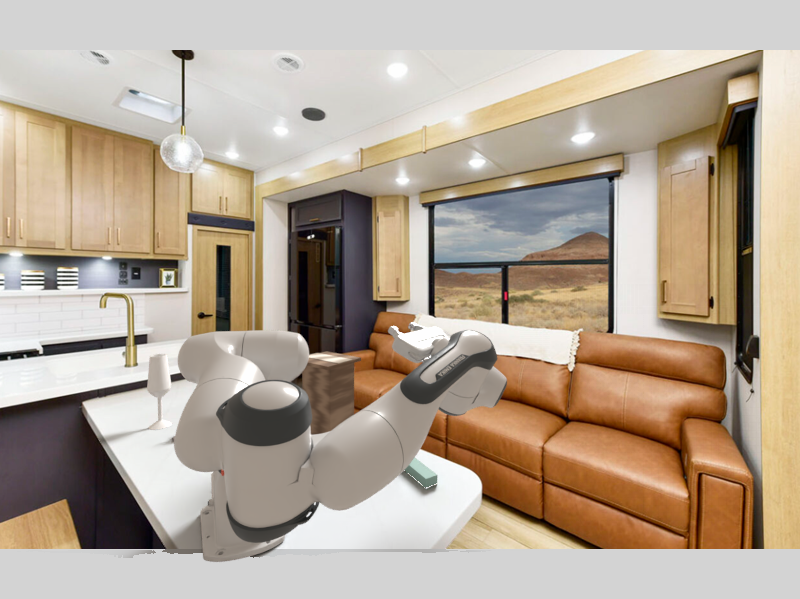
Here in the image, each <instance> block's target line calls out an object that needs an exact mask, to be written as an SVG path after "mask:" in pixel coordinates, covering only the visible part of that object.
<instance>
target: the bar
mask: <svg viewBox="0 0 800 599" xmlns="http://www.w3.org/2000/svg"><path fill="white" fill-rule="evenodd" d="M405 471H406V472H407V473H409V474H410V475H411V476H413V477H414V478H415V479H416V480H417V481H419V482H420V483H421V484H422V485H423V486H424V487H425V488H426V487H429V486H431V485H434V484H436V483H437V484H438V473H436V472H435V471H433V470H432V469H430V468H429V467H428V466H427V465H425V464H424V463H423V462H421V461H420V460H419V459H417V458H416V457H415V458H414V459H413V460H412V462H411V463H410V464H409V466H408V467H407V468H406V469H405ZM405 471H404V472H405ZM406 472H405V473H406ZM407 473H406V474H407ZM411 476H410V477H411Z"/></svg>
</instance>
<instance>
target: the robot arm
mask: <svg viewBox="0 0 800 599" xmlns="http://www.w3.org/2000/svg"><path fill="white" fill-rule="evenodd" d="M408 329H409V330H410V332H406V333H403V332H400V331H399V328H398V327H397V326H395V325H393V326H392V325H391V326H389V328H388V329H387V332H388V334H390V336H392V338H393V339H394V340H393V342H392V344H391V348H392V350H393V351H394V352H395V353H396V354H398V355H399V356H401V357H403V358H405V359H406V360H408V361H409V362H412V363H414V364H419V363H421V364H419V365H418V366H416V367H415V368H414V369H413V370H412V371H411V372H410V373H409V374H407V375H406V376H405V377H404V378H403V379H402V380H401V381H399V382H398V383H397V384H395V385H394V386H393V387H392V388H391V389H389V390H388V391H387V392H385V393H384V394H383V395H382V396H380V397H379V398H378V399H376V400H374V401H373V402H371V403H370V404H369V405H367V406H366V407H364V408H362V409H361V410H359V411H358V412H355V413H354V415H352V416H351V417H349V418H348V419H346V420H345V421H343V422H342V423H340V424H339V425H338V426H337V427H335V428H334V429H333V430H331V431H329V432H326V433H322V434H315V435H311V426H310V424H311V422H312V411H311V405H310V401H309V397H308V395H307V393H306V392H305V391H304V390H303V389H302V387H300V386H299V385H297V384H295V383H294V382H293V381H294V380H296V378H298V377H299V376H300V375H301V374H302V372H303V371H304V369H305V368H306V366H307V363H308V360H309V355H310V348H309V345H308V342H307V341H306V339H305V338H304V337H303V335H302V334H300V333H298V332H295V331H294V332H293V331H288V330H279V329H269V330H268V329H267V330H266V329H263V330H261V329H260V330H259V329H258V330H229V331H228V330H227V331H226V330H225V331H222V330H220V331H218V330H217V331H211V332H206V333H199V334H195V335H191V336H189V337H188V338H187V339H186V340H185V341H184V342H183V344H182V345H181V346H180V349H179V351H178V355H177V367H178V369H179V372H180V374H181V375H182V376H183V378H184V379H185V380H186V381H188V382H191V383H193V384H196V386H195V389H194V390H193V392H192V393H191V395H190V396H189V398H188V400H187V402H186V403H185V406H184V408H183V410H182V412H181V415H180V418H179V421H178V424H177V426H176V429H175V430H176V431H175V435H174V436H175V439H174V440H173V445H174V446H173V448H174V452H175V455H176V457H177V459H178V460H179V462H181V464H182V465H184V466H185V467H186V468H188V469H189V470H192V471H195V472H200V473H211V474H210V476H211V477H210V479H211V480H210V481H211V483H210V484H211V491H210V492H211V498H210V499H208V501H207V504H206V506H204V507H202V508H201V509H200V514H199V516H200V517H199V519H200V532H201V533H200V534H201V535H200V536H201V550H202V559H203V560H204V561H205V562H210V563H211V562H213V563H222V562H223V563H224V562H231V561H236V560H241V559H244V558H245V559H246V558H249V557H253V556H255V555H259V554H262V553H264V552H266V551H268V550H271V549H273V548H276V547H277V546H278V545H281V543H283V542H284V541H285V539H286V536H287V534H289V533H291V532H292V531H294V530H295V529H296V528H297V527H298V526H300V525H303V524H306V523H307V522H309V521H310V520H311V518H312V517H313V516H314V514H315V513H316V512H317V509H318V508H319V505H320V504H321V505H322V506H324V507H326V508H328V509H330V510H332V511H346V510H349V509H351V508H355V507H356V506H357V505H359V504H362V503H363V502H365V501H366V500H368V499H370V498H371V497H373V496H374V495H376V494H378V492H380V491H382V490H383V489H384V488H386V487H387V486H388V485H390V484H391V483H392V482H393V481H394V480H395V479H396V478H398V477H399V476H400V475H401V474H402V473H403V472H405V471H404V470H405V469H406V468H407V467H408V466H409V464H410V463H411V462H412V460H413V459H414V458H416V457H417V455H418V453H419V452H420V450H421V448H422V446H423V445H424V443H425V441H426V439H427V436H428V434H429V432H430V430H431V427H432V424H433V422H434V420H435V417H436V415H437V413H438V411H440V412H442V413H443V414H445V415H446V416H452V417H459V416H463V415H465V414H467V412H468V411H471V410H473V409H476V408H480V407H485V408H488V409H489V408H491V409H493V408H494V407H496V406H497V405H498V403H499V401H500V400H501V398H502V396H503V395H504V392H505V391H506V388H507V386H508V379H507V377H506V375H504V374H503V373H502V372H501V371H500V370H499V369H498V368H497V367H495V364H496V362H497V361H498V355H497V351H496V348H495V346H494V344H493V341H492V340H491V339H490V338H489V337H488V336H487V335H485V334H483V333H482V332H480V331H477V330H472V329H463V330H460V331H458V332H455V333H452V334H451V333H450V332H449V331H446V330H445V329H442V328H441V327H438V326H431V327H425V326H423V325H420V324H417V323H416V322H415V321H412V322H410V323H409V324H408Z"/></svg>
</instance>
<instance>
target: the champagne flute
mask: <svg viewBox="0 0 800 599" xmlns="http://www.w3.org/2000/svg"><path fill="white" fill-rule="evenodd" d="M168 359H169V358H168V354H167V353H155V354H151V355H149V359H148V360H149V362H148V371H147V373H148V375H147V383H146V384H147V387H146V390H147V392H148V393H149V394H150V395H151V396H153V397H154V398H157V421H155V422H153V423H152V424H151V425H149V426H148V427H147V428H148V429H149V430H151V431H156V429H158V430H163V429H166V428H169V427H171V426H172V425H173V422H172V421H169V420H166V419H163V397H164V396H166V394H167V393H168V392H170V389H171V388H172V380H171V374H170V366H169V365H170V364H169V360H168ZM162 428H163V429H162Z"/></svg>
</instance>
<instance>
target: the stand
mask: <svg viewBox="0 0 800 599" xmlns="http://www.w3.org/2000/svg"><path fill="white" fill-rule="evenodd" d="M361 361H362V357H359V356H354V355H349V354H343V353H337V352H332V351H321V352H315V353H309V360H308V363H307V366H306V368H305V369H304V371H303V372H302V373H301V374H302V377H301V378H302V379H301V380H302V385H301V386H302V387H301V388H302V389H303V390H304V391H305V392H306V393H307V395H308V397H309V401H310V405H311V411H312V422H311V424H310V426H311V435H315V434H322V433H326V432H329V431H331V430H333V429H334V428H335V427H337V426H338V425H339V424H340V423H342V422H343V421H345V420H346V419H348V418H349V417H351V416H352V415H354V414H355V363H358V362H361Z"/></svg>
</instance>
